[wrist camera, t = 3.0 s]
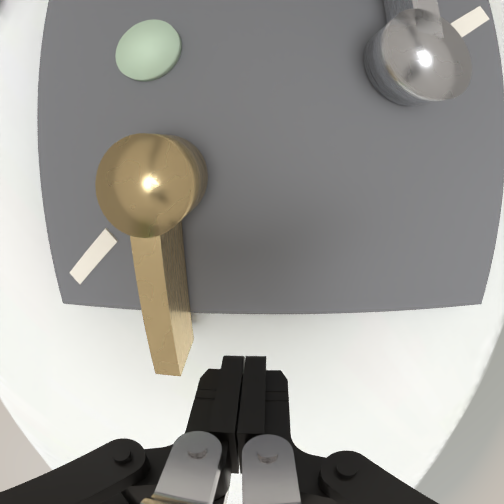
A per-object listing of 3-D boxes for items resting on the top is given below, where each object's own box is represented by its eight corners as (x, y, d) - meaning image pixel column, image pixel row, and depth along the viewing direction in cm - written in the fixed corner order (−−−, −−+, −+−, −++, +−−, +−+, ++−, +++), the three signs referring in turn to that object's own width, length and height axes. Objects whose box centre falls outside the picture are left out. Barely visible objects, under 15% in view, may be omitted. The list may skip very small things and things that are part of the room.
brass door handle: (125, 139, 17) (92, 140, 13) (206, 131, 17) (189, 128, 13) (149, 336, 21) (130, 370, 18) (217, 340, 21) (208, 378, 17)
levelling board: (68, -37, 13) (54, -46, 11) (467, -36, 12) (479, -45, 9) (72, 295, 23) (58, 308, 21) (472, 295, 21) (486, 308, 19)
